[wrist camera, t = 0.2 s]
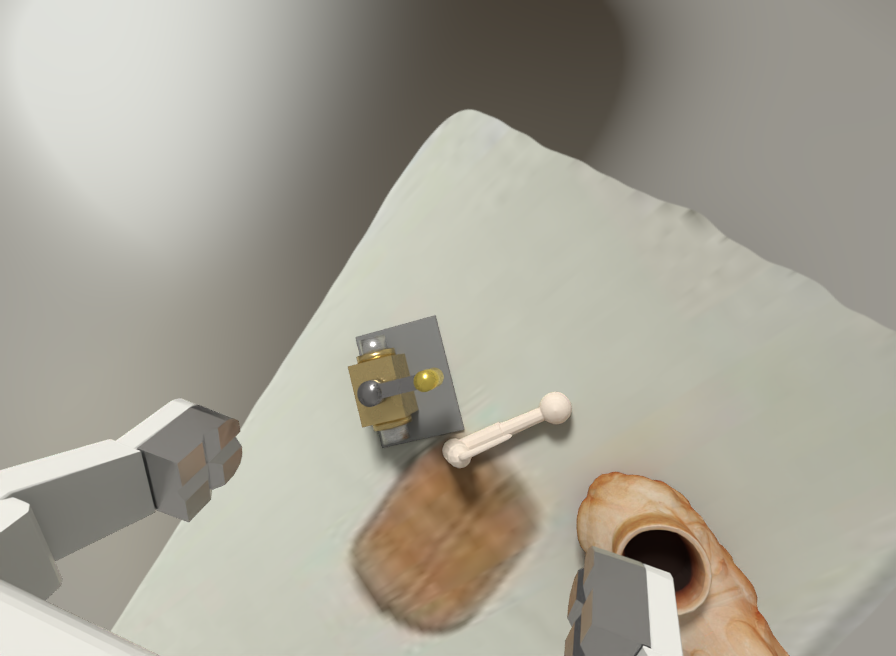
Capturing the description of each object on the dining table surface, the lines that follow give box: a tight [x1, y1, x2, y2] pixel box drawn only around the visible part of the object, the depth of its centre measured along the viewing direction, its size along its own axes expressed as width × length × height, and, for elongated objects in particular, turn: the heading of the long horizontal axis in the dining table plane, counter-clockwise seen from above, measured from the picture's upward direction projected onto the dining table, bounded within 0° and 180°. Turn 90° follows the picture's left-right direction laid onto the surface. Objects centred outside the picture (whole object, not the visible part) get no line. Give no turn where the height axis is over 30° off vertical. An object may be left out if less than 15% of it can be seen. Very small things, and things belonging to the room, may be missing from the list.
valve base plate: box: [356, 316, 464, 448], centre depth 66 cm, size 16×12×1 cm
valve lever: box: [357, 368, 444, 407], centre depth 57 cm, size 11×3×6 cm, turn 104°
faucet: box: [442, 392, 572, 468], centre depth 60 cm, size 4×18×10 cm, turn 115°
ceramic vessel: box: [577, 472, 789, 656], centre depth 52 cm, size 14×26×15 cm, turn 38°
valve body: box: [348, 335, 419, 445], centre depth 63 cm, size 14×6×6 cm, turn 15°
